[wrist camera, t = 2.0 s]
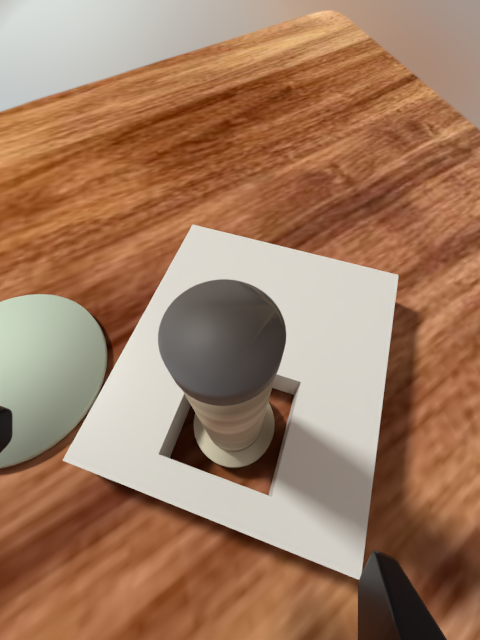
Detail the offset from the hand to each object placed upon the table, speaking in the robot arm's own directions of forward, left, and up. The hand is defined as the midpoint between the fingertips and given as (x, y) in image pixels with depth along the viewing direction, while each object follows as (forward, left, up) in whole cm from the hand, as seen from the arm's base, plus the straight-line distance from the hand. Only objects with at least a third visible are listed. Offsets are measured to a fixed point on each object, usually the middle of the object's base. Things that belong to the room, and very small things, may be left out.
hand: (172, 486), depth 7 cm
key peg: (+3, +1, -11) cm, 11 cm away
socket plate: (+6, +3, -11) cm, 13 cm away
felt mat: (-4, +13, -11) cm, 18 cm away
